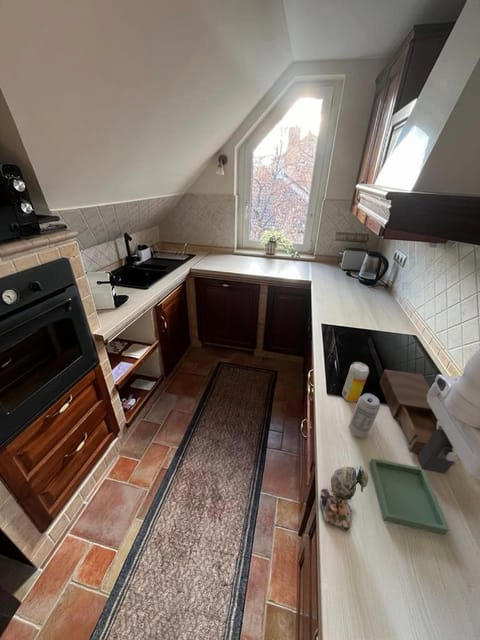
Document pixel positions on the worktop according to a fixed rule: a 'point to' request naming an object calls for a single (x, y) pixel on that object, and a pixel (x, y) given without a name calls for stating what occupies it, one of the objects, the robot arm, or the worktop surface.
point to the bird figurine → (342, 495)
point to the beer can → (355, 381)
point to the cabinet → (404, 390)
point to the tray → (406, 496)
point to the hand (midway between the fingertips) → (443, 447)
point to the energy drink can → (364, 415)
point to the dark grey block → (436, 453)
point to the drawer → (417, 426)
